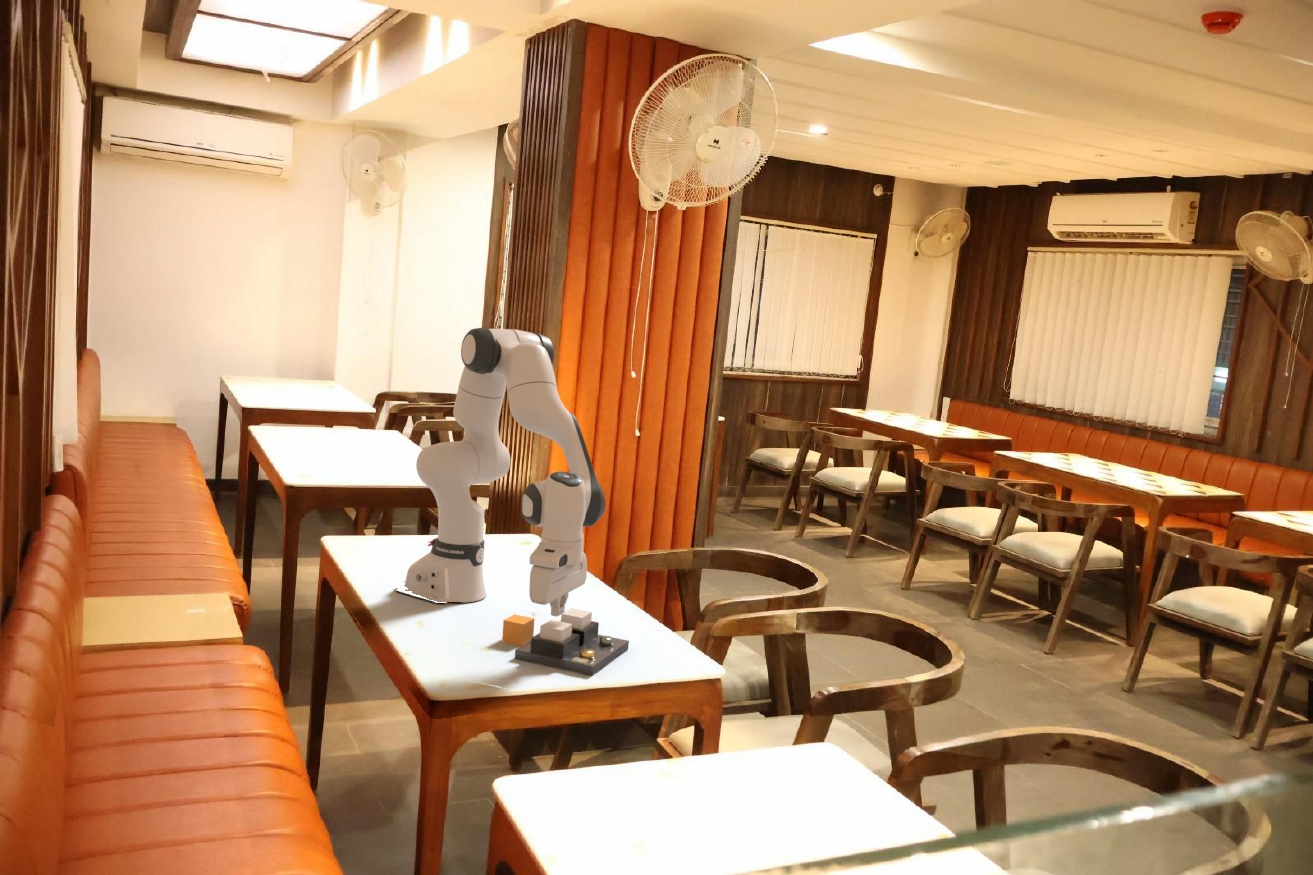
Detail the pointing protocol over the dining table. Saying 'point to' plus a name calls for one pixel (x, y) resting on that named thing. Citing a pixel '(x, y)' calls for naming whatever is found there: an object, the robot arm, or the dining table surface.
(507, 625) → the block
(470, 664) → the dining table surface
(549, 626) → the block
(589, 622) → the block
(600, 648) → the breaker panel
